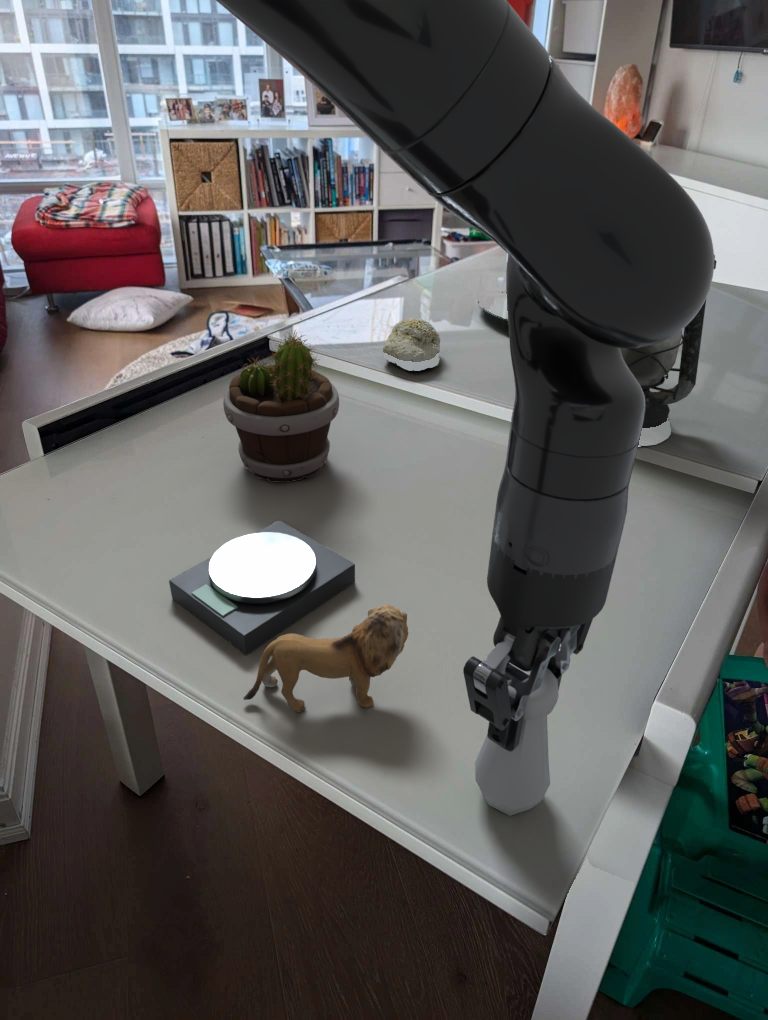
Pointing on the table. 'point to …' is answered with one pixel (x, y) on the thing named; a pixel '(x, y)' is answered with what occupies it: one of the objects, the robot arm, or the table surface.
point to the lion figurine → (336, 655)
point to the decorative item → (413, 341)
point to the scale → (264, 620)
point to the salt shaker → (520, 756)
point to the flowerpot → (282, 414)
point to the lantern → (666, 368)
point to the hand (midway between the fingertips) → (521, 721)
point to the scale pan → (262, 567)
